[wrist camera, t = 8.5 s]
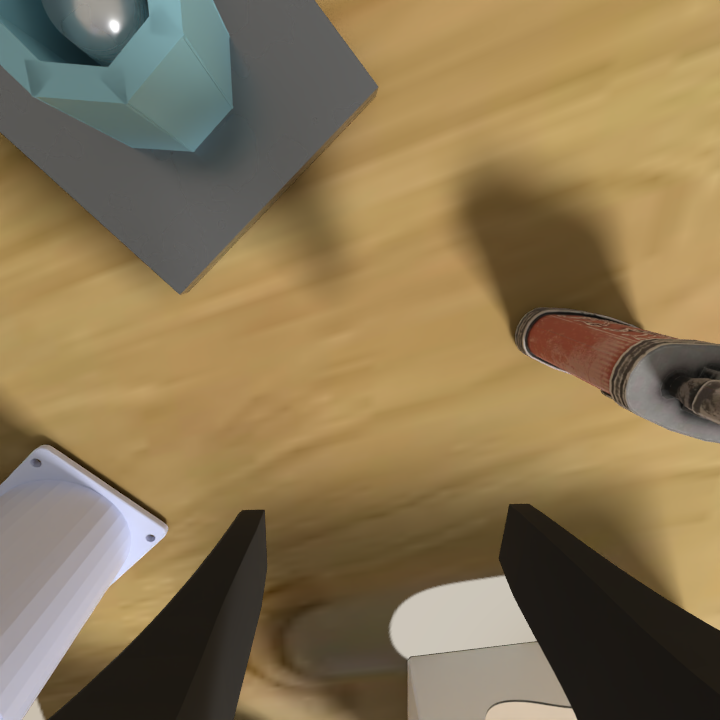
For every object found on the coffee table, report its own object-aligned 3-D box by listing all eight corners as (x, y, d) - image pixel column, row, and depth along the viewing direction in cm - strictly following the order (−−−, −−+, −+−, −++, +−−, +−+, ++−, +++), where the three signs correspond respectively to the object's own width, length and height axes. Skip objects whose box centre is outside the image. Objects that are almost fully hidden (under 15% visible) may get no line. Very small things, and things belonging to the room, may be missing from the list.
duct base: (188, 292, 17) (132, 309, 12) (-65, 60, 14) (-277, -41, 9) (375, 97, 15) (396, 27, 10) (136, -222, 12) (7, -537, 7)
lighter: (505, 356, 19) (676, 462, 10) (528, 295, 18) (743, 345, 9) (632, 386, 20) (895, 506, 11) (660, 330, 20) (974, 408, 10)
